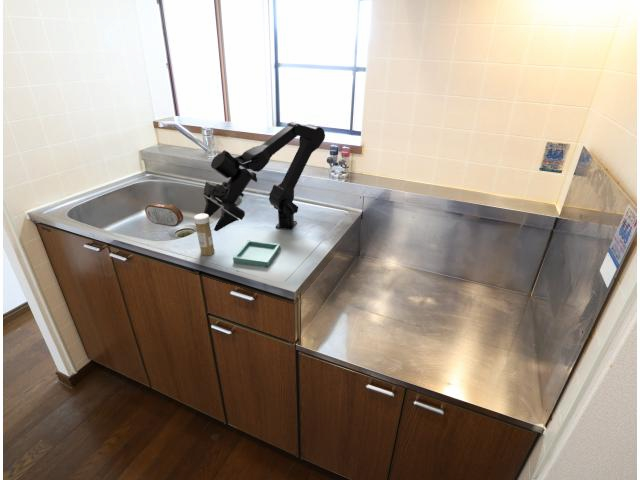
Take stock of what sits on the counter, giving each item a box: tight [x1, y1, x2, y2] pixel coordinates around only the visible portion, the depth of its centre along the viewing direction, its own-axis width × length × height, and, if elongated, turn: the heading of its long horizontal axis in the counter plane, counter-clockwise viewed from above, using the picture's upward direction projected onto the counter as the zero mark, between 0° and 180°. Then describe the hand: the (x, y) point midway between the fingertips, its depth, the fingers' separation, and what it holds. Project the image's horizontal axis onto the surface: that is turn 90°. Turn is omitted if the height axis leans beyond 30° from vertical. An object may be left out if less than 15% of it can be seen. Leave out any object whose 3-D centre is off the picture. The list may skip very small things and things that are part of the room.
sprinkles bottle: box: [193, 212, 215, 256], centre depth 120 cm, size 5×5×13 cm
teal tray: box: [232, 239, 281, 268], centre depth 121 cm, size 12×12×2 cm
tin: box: [144, 201, 184, 227], centre depth 139 cm, size 15×3×8 cm, turn 73°
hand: (208, 225), depth 120 cm, fingers open, 9 cm apart
